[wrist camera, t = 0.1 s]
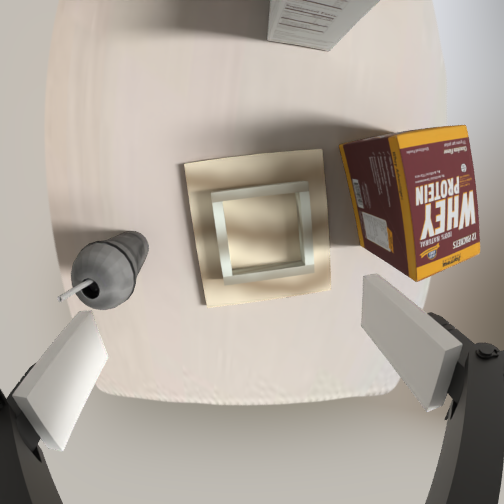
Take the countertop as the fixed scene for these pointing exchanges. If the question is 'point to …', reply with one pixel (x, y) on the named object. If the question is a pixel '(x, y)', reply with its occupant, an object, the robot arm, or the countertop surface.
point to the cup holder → (260, 226)
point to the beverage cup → (108, 270)
